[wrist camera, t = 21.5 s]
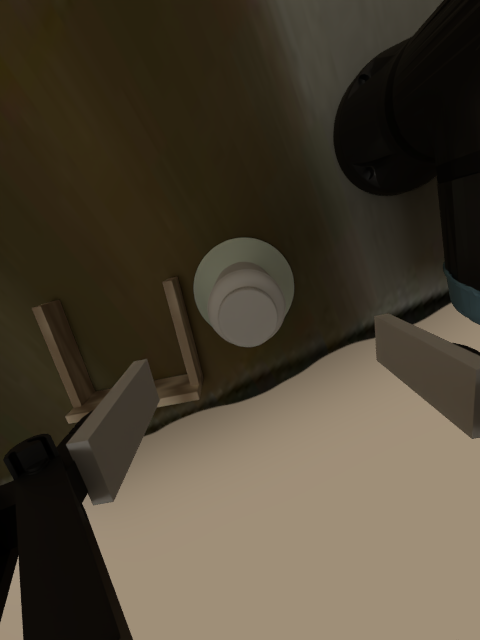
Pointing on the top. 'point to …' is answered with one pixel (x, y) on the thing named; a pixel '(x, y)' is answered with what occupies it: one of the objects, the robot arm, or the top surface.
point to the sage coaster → (241, 252)
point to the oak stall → (88, 399)
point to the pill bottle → (246, 305)
